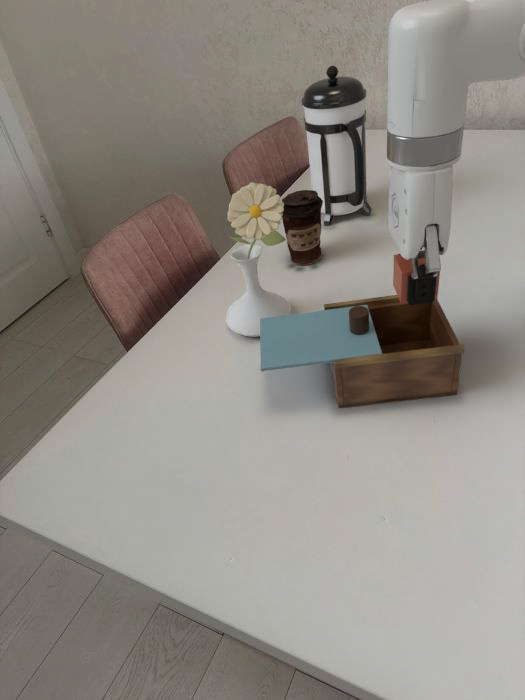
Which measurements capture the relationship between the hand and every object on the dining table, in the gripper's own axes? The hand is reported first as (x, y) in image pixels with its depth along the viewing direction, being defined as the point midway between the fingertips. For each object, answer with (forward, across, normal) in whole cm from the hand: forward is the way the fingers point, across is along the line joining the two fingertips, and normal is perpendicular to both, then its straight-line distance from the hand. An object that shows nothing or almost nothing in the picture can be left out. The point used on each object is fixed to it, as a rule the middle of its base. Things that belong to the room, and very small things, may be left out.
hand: (415, 289), depth 63 cm
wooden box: (+14, 0, -3) cm, 14 cm away
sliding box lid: (+6, 0, -13) cm, 14 cm away
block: (0, 0, 0) cm, 0 cm away
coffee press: (+14, -54, -2) cm, 56 cm away
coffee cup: (+14, -36, -12) cm, 41 cm away
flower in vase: (+14, -16, -21) cm, 30 cm away
